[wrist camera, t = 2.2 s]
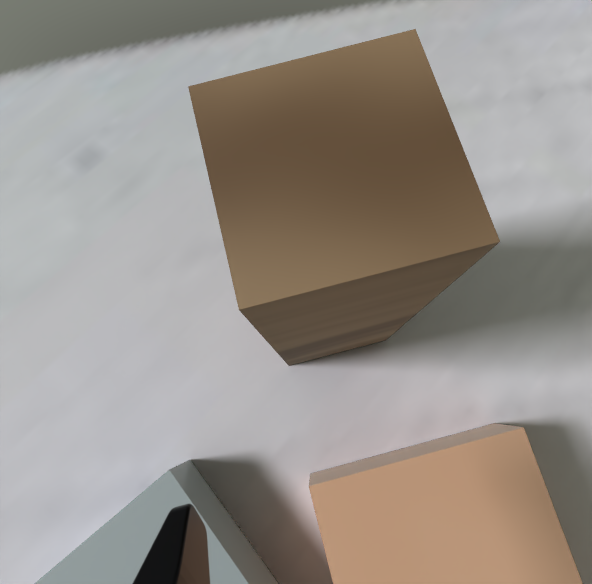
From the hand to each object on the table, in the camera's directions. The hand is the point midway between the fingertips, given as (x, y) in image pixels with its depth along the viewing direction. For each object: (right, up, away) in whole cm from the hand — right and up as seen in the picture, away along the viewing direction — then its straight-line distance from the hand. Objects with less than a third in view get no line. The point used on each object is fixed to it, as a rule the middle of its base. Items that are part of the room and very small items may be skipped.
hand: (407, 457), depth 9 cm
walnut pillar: (-1, +3, +13) cm, 14 cm away
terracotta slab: (+4, -8, +10) cm, 14 cm away
